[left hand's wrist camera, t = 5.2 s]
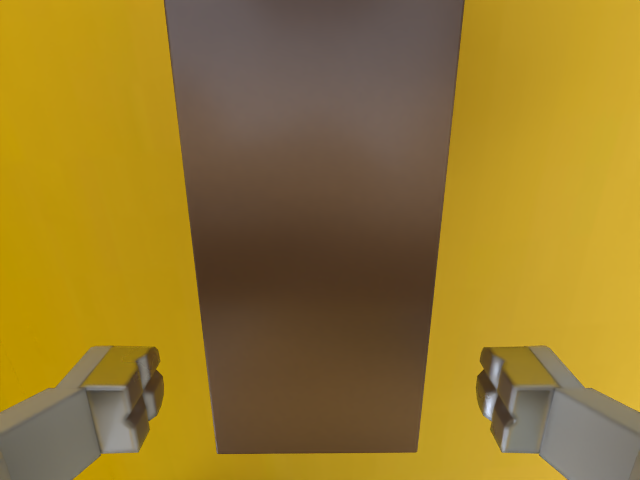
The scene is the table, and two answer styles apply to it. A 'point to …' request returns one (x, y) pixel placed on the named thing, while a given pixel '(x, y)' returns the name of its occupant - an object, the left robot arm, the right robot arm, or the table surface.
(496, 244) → the table surface
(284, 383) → the long box
